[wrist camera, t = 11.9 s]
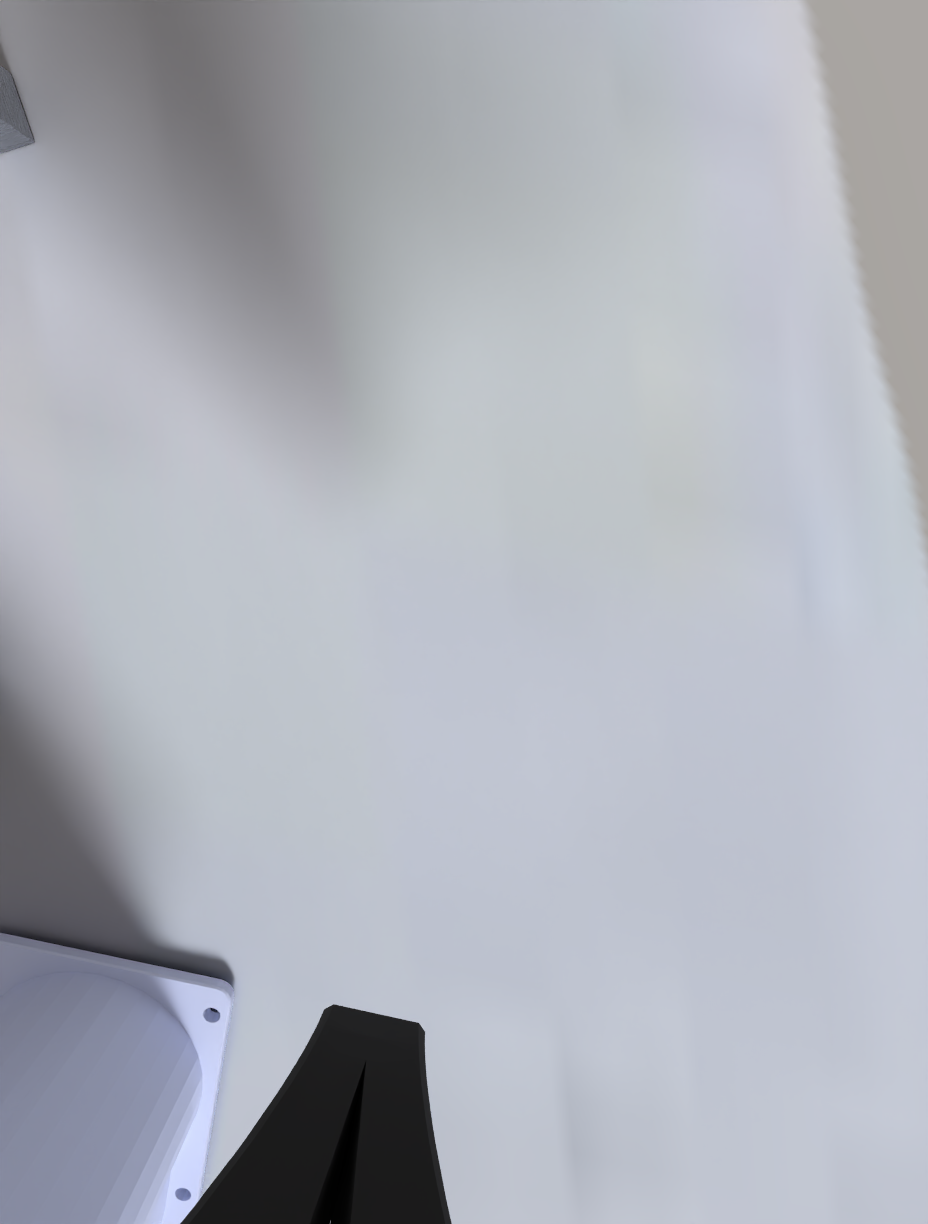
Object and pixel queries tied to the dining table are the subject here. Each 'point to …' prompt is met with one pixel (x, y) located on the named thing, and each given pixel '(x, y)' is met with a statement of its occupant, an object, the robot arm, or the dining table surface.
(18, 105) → the tray
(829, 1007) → the dining table surface
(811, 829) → the dining table surface
